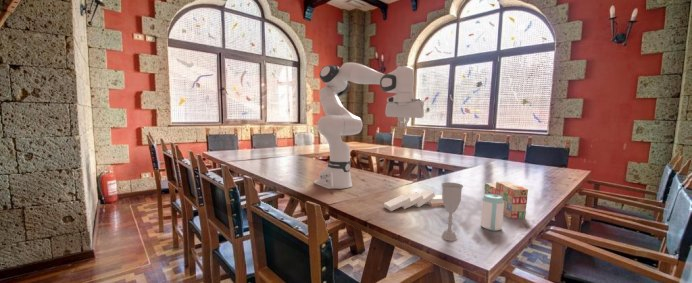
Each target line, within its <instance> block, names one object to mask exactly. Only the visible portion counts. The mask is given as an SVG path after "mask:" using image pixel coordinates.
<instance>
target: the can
mask: <svg viewBox="0 0 692 283" xmlns="http://www.w3.org/2000/svg"><path fill="white" fill-rule="evenodd" d="M503 210H504V201H503V199H502V196H500V195H496V194H485V193H484V196H483V198H482V200H481V217H480V226H481V227H482V228H484V229H485V230H488V231H492V232H494V231H495V232H497V231H500V230H502V229H503V223H504V221H503V220H504V214H503Z"/></svg>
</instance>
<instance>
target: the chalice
mask: <svg viewBox="0 0 692 283" xmlns="http://www.w3.org/2000/svg"><path fill="white" fill-rule="evenodd" d="M441 187H442V193H441V195H442V200H443V203H444V205H443V207H444V208H445V211H446V212H447V213H448V217H447V219H448V221H447V223H446V224H447V226H448V227H447V229H445V230H444V231H443V232H442V234H441V236H440V237H441V238H442V239H443V240H445V241H449V242H450V241H451V242H453V241H457V240H458V238H457V235H456V231H455V230H454V229H452V225H453V224H454V223H453V222H452V221H453V219H454V218H453V213H455V212H457V210H458V207H459V205H460V203H461V200H462V190H463V187H464V185H463V184H461V183H458V182H443V183H441Z"/></svg>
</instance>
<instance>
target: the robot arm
mask: <svg viewBox="0 0 692 283" xmlns="http://www.w3.org/2000/svg"><path fill="white" fill-rule="evenodd" d="M319 78H320V80H321V81H322V82H323V83H324V84H325V86H323V87H322V88H320V90H319V91H318V98H319V102H320V105H321V107H322V110H323V114H324V116H321V117H320V118H319V119H318V121H317V124H316V126H317V130H318V132H319V134H320V135H322V136H323V137H324V138H325V139H326V142H327V143H328V146H329V160H327V161H326V164H327V166H326V167H325V168H323V169H322V170H321V171H320V172H319V173H318V179H317V180H315V181H313V184H315V185H318V186H320V187H322V188H325V189H328V190H329V189H330V190H331V189H337V190H338V189H340V190H341V189H348V188H351V187H353V183H352V177H351V168H352V167H351V165H352V163H351V147H350V145H349V144H348V143H347V142H345V141H343V139H342V136H353V135H358V134H360V133H361V132H362V129H363V126H364V125H363V120H362V118H361V117H359V116H357V115H355V114H353V113H352V112H350V111H349V110H348V109H347V108H345V107H344V105H343V103H342V102H341V99H340V98H339V97H342V96H343V95H345V94H346V93H348V91H349V90H350V88H351V85H350V83H349V82H351V83H354V84H359V85H379V86H380V89H381V90H382V91H383V92H385V93H389V94H390V93H393V94H395V95H392V96H390V97H387V98H386V102H387V103H386V105H385V113H384V114H385V117H387V118H397V119H398V122H399V127H401V128H402V127H408V123H409V121H410V119H422V118H424V116H425V112H424V111H425V110H424V105H425V104H424V103H425V102H424V100H422V98H415V95H414V94H415V92H414V86H415V71H414V68H413V67H411V66H406V65H399V66H397V67H396V68H395V69H394V70H393V71H391V72H388V73H382V72H381V71H377V70H375V69H373V68H371V67H369V66H366V65H364V64H363V63H358V62H350V61H349V62H345V63H343V64H342V65H341V66H340V67H339V65H338V64H337V65H336V64H335V65H334V64H333V65H332V64H329V65H328V64H327V65H325V66H323V67H322V68H321V69H320V72H319ZM403 120H405V121H403Z"/></svg>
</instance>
